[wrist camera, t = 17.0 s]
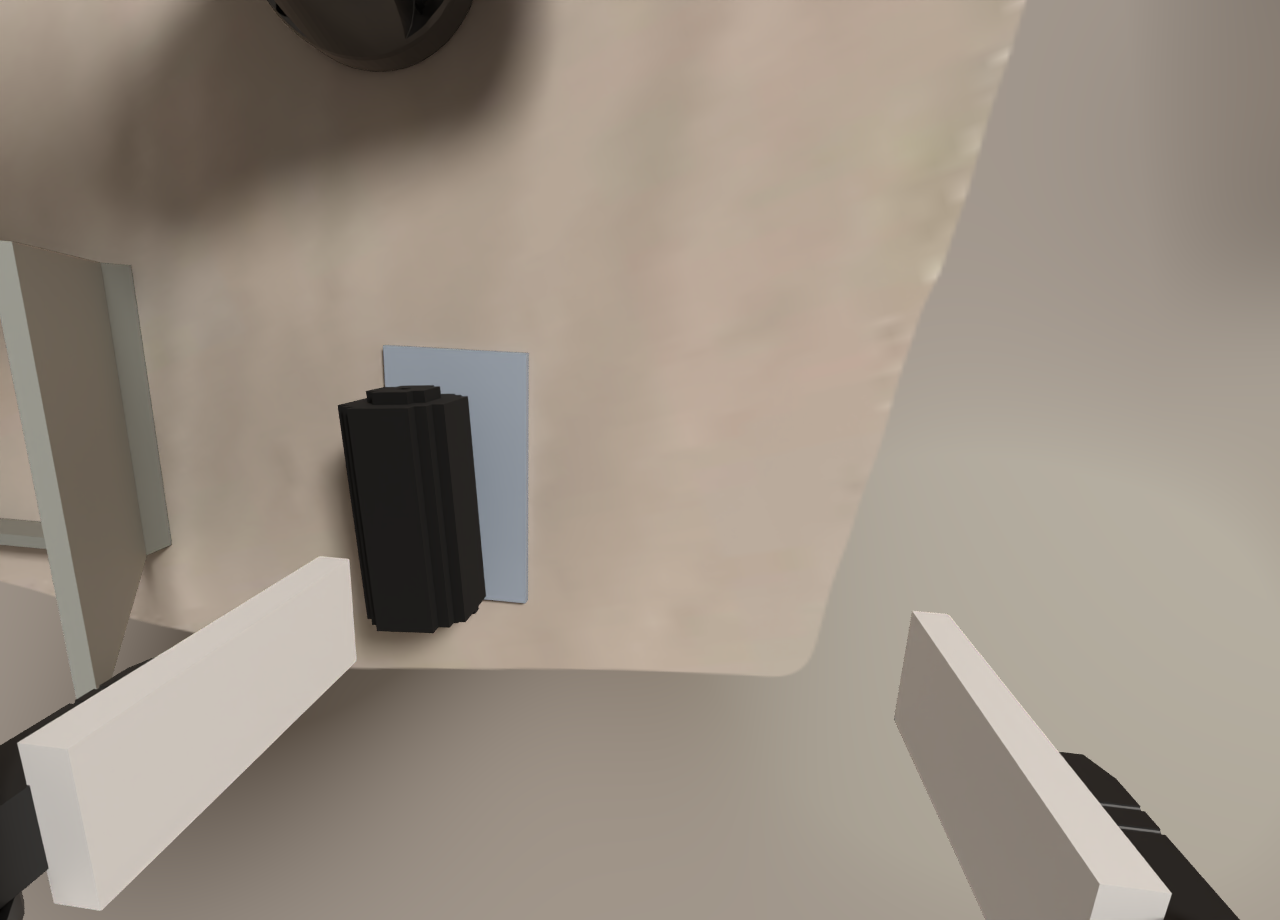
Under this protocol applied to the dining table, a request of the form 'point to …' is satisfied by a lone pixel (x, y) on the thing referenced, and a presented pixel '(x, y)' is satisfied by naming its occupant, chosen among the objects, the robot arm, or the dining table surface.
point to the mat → (485, 447)
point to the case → (84, 442)
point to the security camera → (414, 506)
